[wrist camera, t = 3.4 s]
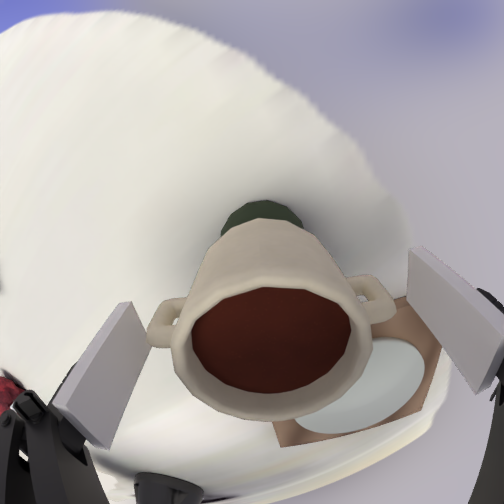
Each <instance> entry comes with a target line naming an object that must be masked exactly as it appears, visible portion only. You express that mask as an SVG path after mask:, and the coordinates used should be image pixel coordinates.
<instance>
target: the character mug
mask: <svg viewBox="0 0 504 504" xmlns="http://www.w3.org/2000/svg"><path fill="white" fill-rule="evenodd" d="M359 295H364V296H365V297H366V298H367V300H368V302H362V303H361V302H360V300H359V299H358V297H357V296H359ZM396 312H397V310H396V305H395V303H394V300H393V298H392V297H391V295H390V294H389V293H388V292H387V290H386V289H385V288H384V287H383V285H382V284H381V283H380V282H379V281H378V279H377V278H375V277H374V276H372V275H359V276H353V277H346V278H345V276H344V275H343V273H342V272H341V270H340V269H339V267H338V265H337V264H336V262H335V261H334V259H333V258H332V256H331V255H330V254H329V253H328V251H327V250H326V249H325V248H324V246H323V245H322V244H321V243H320V241H319V240H318V239H317V238H316V237H315V235H313V234H311V233H309V232H307V231H305V230H304V228H303V225H302V222H301V220H300V219H299V218H298V217H297V216H296V215H295V214H294V213H293V212H292V211H291V210H290V209H289V208H288V207H286V206H283V205H280V204H277V203H274V202H271V201H268V200H266V201H259V202H251V203H247V204H245V205H244V206H242V207H241V208H239V209H238V210H236V211H235V212H234V213H232V214H231V215H230V217H229V218H228V220H227V222H226V224H225V225H224V227H223V229H222V231H221V238H220V239H218V240H217V241H216V242H215V243H214V244H213V245H212V246H211V247H210V248H209V249H208V250H207V252H206V255H205V257H204V259H203V261H202V264H201V266H200V268H199V271H198V273H197V275H196V278H195V280H194V282H193V285H192V287H191V290H190V292H189V294H188V297H185V298H174V299H169V300H165V301H163V302H162V303H161V304H160V305H159V307H158V308H157V310H156V312H155V314H154V316H153V318H152V320H151V322H150V323H149V325H148V327H147V333H146V342H147V343H148V344H150V345H151V346H153V347H156V348H171V352H172V359H173V365H174V371H175V373H176V374H177V376H178V377H179V378H180V380H181V381H182V382H183V384H184V385H185V386H186V388H187V389H188V390H189V391H190V393H191V394H192V395H193V396H195V397H196V398H198V399H199V400H201V401H202V402H204V403H205V404H207V405H208V406H210V407H212V408H213V409H215V410H216V411H218V412H221V413H225V414H228V415H231V416H234V417H237V418H241V419H244V420H252V421H263V422H272V421H285V420H290V419H296V418H299V417H302V416H305V415H308V414H311V413H314V412H317V411H319V410H321V409H322V408H324V407H326V406H328V405H329V404H331V403H333V402H334V401H336V400H338V399H339V398H341V397H342V396H343V395H344V394H345V393H346V392H347V391H348V390H349V389H350V388H351V387H352V386H353V385H354V384H355V383H356V382H357V380H358V379H359V378H360V377H361V376H362V374H363V372H364V369H365V367H366V365H367V363H368V360H369V358H370V356H371V353H372V351H373V343H372V334H371V324H376V323H380V322H385V321H387V320H389V319H391V318H392V317H393V316H394V315H395V314H396ZM175 318H179V319H178V322H177V324H176V325H172V324H173V321H174V320H175Z"/></svg>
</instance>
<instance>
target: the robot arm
mask: <svg viewBox="0 0 504 504" xmlns="http://www.w3.org/2000/svg"><path fill="white" fill-rule="evenodd" d="M406 300H407V301H408V303H409V304H410V305H411V306H412V307H413V309H414V310H415V311H416V313H417V314H418V315H419V316H420V318H421V319H422V320H423V321H424V323H425V324H426V325H427V327H428V328H429V329H430V331H431V332H432V333H433V335H434V336H435V337H436V339H437V340H438V341H439V343H440V344H441V345H442V347H443V348H444V350H445V351H446V352H447V354H448V355H449V357H450V358H451V359H452V361H453V362H454V364H455V365H456V367H457V368H458V370H459V371H460V373H461V374H462V376H463V377H464V378H465V380H466V382H467V383H468V385H469V386H470V388H471V389H472V391H473V393H474V394H475V395H477V394H479V393H480V392H482V391H484V390H485V389H487V388H489V387H490V386H491V384H492V382H493V380H494V378H495V376H497V377H498V379H499V380H500V381H499V383H498V385H497V387H496V388H495V390H494V392H493V394H492V395H491V398H490V401H492V400H493V398H494V397H495V395H496V400H495V407H494V413H493V419H492V424H491V430H490V434H489V439H488V443H487V448H486V451H485V455H484V459H483V462H482V465H481V469H480V472H479V476H478V478H477V482H476V484H475V487H474V489H473V492H472V495H471V497H470V500H469V502H468V504H504V307H503V305H502V304H501V303H500V302H499V301H497V299H496V298H494V297H493V296H492V295H491V294H490V293H489V292H486V291H484V290H482V289H480V288H477V289H475V288H474V287H473V286H472V285H470V283H468V282H467V281H466V280H465V279H464V278H462V277H461V276H460V275H459V274H457V273H456V272H455V271H454V270H452V269H451V268H450V267H449V266H448V265H446V264H445V263H444V262H443V261H441V260H440V259H439V258H437V257H436V256H435V255H433V254H432V253H431V252H430V251H428V250H427V249H425V248H424V247H423V246H419V247H415V248H411V249H409V261H408V282H407V296H406ZM151 348H152V346H151V345H150V344H148V343H147V342H146V331H145V329H144V327H143V325H142V323H141V321H140V319H139V317H138V314H137V312H136V310H135V308H134V306H133V304H132V301H130V302H123V303H119V304H118V305H117V307H116V308H115V309H114V311H113V312H112V313H111V315H110V316H109V317H108V319H107V320H106V322H105V323H104V324H103V326H102V327H101V328H100V330H99V331H98V333H97V334H96V336H95V337H94V338H93V340H92V341H91V343H90V344H89V346H88V347H87V349H86V350H85V351H84V353H83V354H82V356H81V357H80V359H79V360H78V361H77V362H76V363H75V364H74V365H73V366H72V367H71V369H70V370H69V372H68V373H67V377H65V378H64V380H63V381H62V382H63V383H61V384H60V386H59V387H58V389H57V391H56V392H55V394H54V395H53V397H52V399H51V400H50V402H49V404H48V405H47V406H46V405H45V404H44V402H43V401H42V400H41V399H40V398H39V396H38V395H37V394H36V393H35V392H34V391H33V390H26V391H24V392H22V393H21V394H19V396H18V397H17V398H16V399H15V401H14V403H13V408H14V410H15V411H16V412H17V413H18V414H19V415H20V416H21V417H20V416H19V415H18V414H17V413H16V412H15V411H14V410H13V409H8V410H6V411H4V412H3V413H2V414H1V416H0V504H109V501H108V499H107V497H106V495H105V493H104V490H103V488H102V485H101V483H100V481H99V478H98V475H97V473H96V470H95V467H94V465H93V462H92V459H91V456H90V453H89V450H88V448H87V447H86V446H85V445H84V442H85V440H86V439H87V440H88V441H89V442H90V443H91V444H92V445H93V446H94V447H96V448H101V449H105V450H110V447H111V444H112V442H113V439H114V436H115V434H116V431H117V428H118V426H119V423H120V421H121V418H122V416H123V413H124V411H125V408H126V406H127V403H128V401H129V399H130V396H131V394H132V391H133V389H134V387H135V384H136V382H137V380H138V377H139V375H140V373H141V370H142V368H143V366H144V363H145V361H146V359H147V357H148V354H149V352H150V350H151ZM19 449H20V450H21V451H22V452H23V453H24V454H25V455H26V456H28V461H25V460H24V459H23V458H22V457H20V456H19ZM134 489H135V497H136V504H200V503H201V501H202V498H203V490H202V489H201V488H199V487H197V486H196V485H193V484H191V483H188V482H186V481H183V480H179V479H176V478H172V477H168V476H164V475H159V474H152V473H138V474H136V476H135V480H134Z"/></svg>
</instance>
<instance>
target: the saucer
mask: <svg viewBox="0 0 504 504" xmlns="http://www.w3.org/2000/svg"><path fill="white" fill-rule="evenodd" d="M372 343H373V351H372V353H371V356H370V358H369V360H368V363H367V365H366V367H365V369H364V372H363V374H362V376H361V377H360V378H359V379H358V380H357V382H356V383H355V384H354V385H353V386H352V387H351V388H350V389H349V390H348V391H347V392H346V393H345V394H344V395H343V396H342V397H341V398H339V399H338V400H336V401H334V402H333V403H331V404H329V405H328V406H326V407H324V408H322V409H321V410H319V411H317V412H314V413H311V414H308V415H305V416H302V417H299V418H296V419H295V420H296V422H297V423H298V424H299V425H301V426H302V427H304V428H306V429H308V430H310V431H314V432H318V433H325V434H338V433H346V432H352V431H356V430H360V429H363V428H366V427H368V426H371V425H373V424H376V423H378V422H380V421H382V420H383V419H385V418H387V417H389V416H390V415H392V414H393V413H395V412H396V411H397V410H398V409H400V408H401V407H402V406H403V405H404V404H405V403H406V402H407V401H408V400H409V399H410V398H411V397H412V396H413V394H414V393H415V392H416V390H417V389H418V387H419V385H420V383H421V381H422V378H423V375H424V368H425V365H424V360H423V358H422V356H421V354H420V353H419V351H418V350H417V348H416V347H415V346H414V345H413V344H411V343H410V342H408V341H406V340H404V339H400V338H395V337H378V338H372Z"/></svg>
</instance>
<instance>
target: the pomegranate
mask: <svg viewBox="0 0 504 504" xmlns="http://www.w3.org/2000/svg"><path fill="white" fill-rule="evenodd" d="M24 391H25V390H24V389H21V388H19V387H17V386H16V385H15V383H14V382H13V381H12V380H10V379H7V378H5V377H1V376H0V416H1V414H2V413H3V412H4V411H6V410H8V409H13V410H14V408H13V403H14V401H15V399H16V398H17V397H18V396H19V394H21V393H22V392H24ZM14 411H15V410H14ZM15 412H16V411H15ZM16 413H17V412H16ZM17 414H18V413H17ZM18 415H19V414H18ZM19 416H20V415H19ZM20 417H21V416H20Z"/></svg>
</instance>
